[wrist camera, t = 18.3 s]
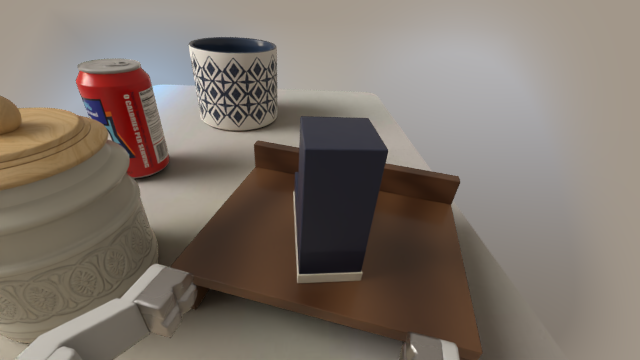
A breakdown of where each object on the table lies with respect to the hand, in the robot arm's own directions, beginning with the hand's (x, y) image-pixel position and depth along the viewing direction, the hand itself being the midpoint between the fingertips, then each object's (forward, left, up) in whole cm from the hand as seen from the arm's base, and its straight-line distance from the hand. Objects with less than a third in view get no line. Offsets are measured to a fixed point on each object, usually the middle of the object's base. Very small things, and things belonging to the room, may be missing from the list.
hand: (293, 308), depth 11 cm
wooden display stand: (+1, -15, -15) cm, 22 cm away
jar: (+23, -6, -15) cm, 28 cm away
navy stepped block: (+2, -14, -10) cm, 17 cm away
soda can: (+32, -24, -15) cm, 43 cm away
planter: (+28, -48, -15) cm, 58 cm away
